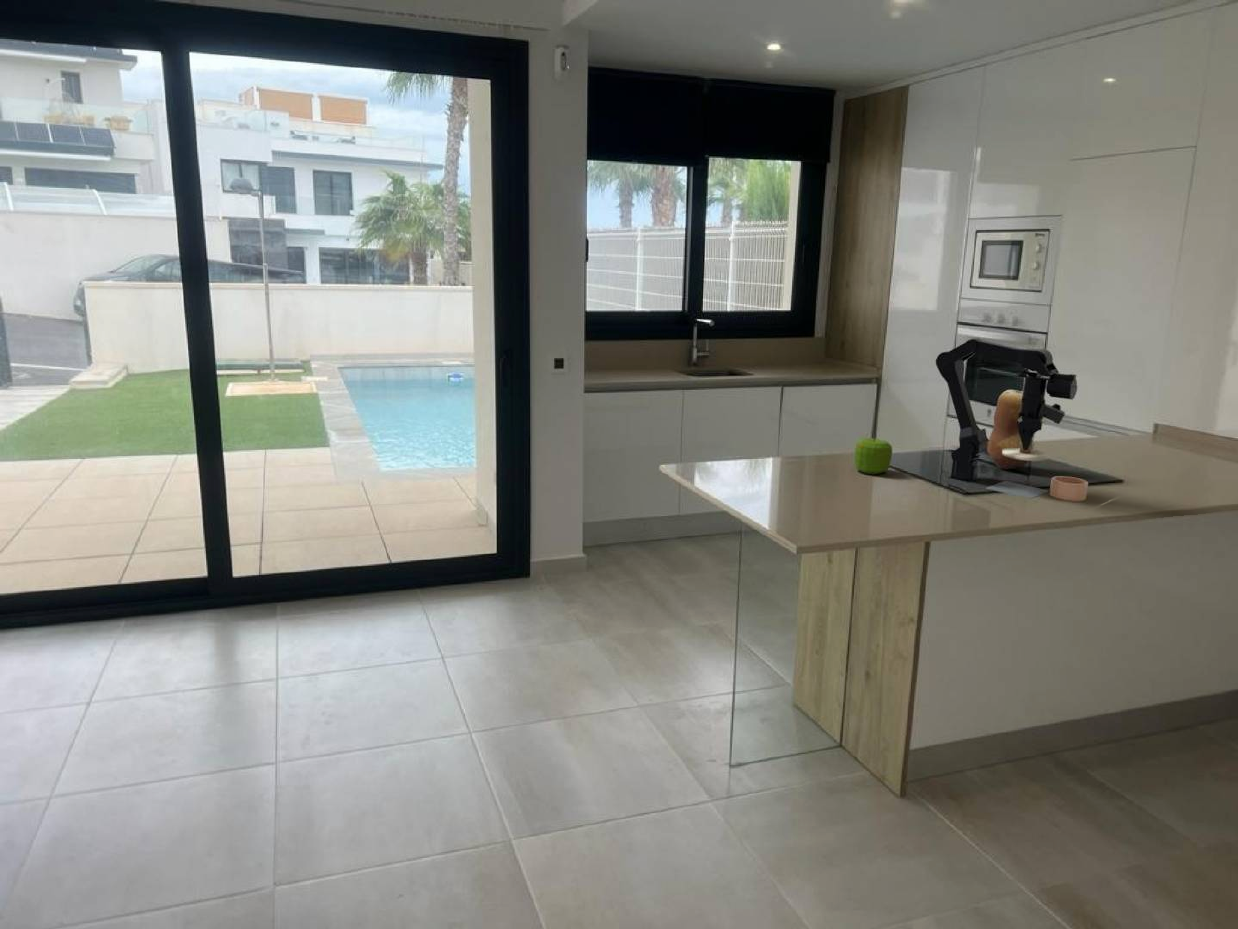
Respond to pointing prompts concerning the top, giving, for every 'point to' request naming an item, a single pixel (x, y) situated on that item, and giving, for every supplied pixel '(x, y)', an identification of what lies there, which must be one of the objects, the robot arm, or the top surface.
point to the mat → (1017, 489)
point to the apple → (872, 455)
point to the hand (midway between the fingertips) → (1025, 448)
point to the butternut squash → (1006, 430)
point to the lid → (1025, 453)
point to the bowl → (1068, 488)
